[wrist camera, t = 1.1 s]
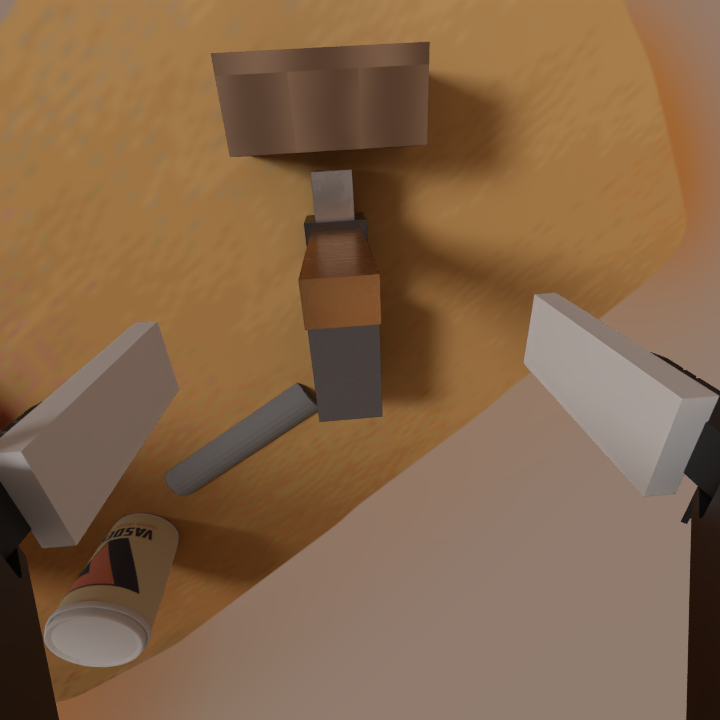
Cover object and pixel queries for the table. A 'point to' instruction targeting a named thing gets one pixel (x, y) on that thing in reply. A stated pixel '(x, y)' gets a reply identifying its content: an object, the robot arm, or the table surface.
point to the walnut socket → (324, 98)
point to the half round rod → (242, 440)
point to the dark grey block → (347, 372)
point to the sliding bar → (337, 258)
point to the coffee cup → (115, 595)
